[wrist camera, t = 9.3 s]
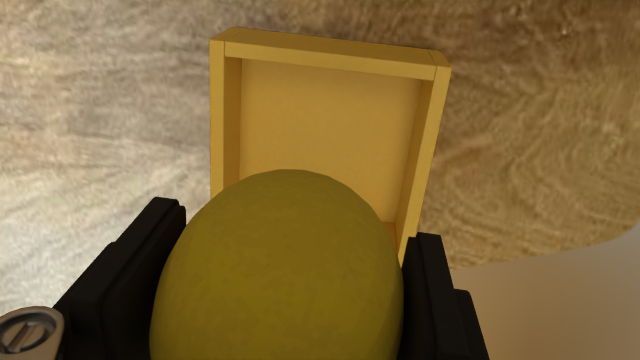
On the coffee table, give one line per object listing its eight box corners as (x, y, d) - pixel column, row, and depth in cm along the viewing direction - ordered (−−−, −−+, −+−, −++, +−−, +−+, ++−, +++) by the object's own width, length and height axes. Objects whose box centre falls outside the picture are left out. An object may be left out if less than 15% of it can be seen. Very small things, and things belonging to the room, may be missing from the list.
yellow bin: (440, 50, 28) (452, 67, 24) (403, 229, 34) (408, 268, 29) (231, 26, 28) (209, 39, 24) (229, 206, 34) (210, 242, 30)
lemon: (429, 174, 14) (494, 421, 7) (346, 305, 16) (327, 589, 9) (254, 93, 13) (114, 266, 6) (195, 241, 16) (46, 491, 8)
